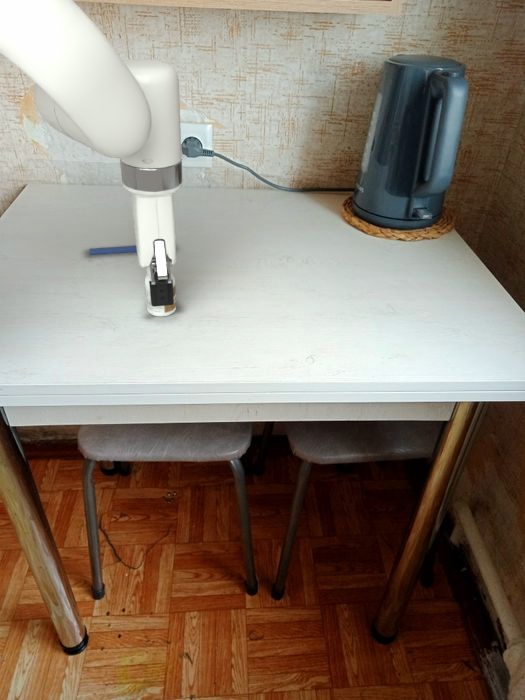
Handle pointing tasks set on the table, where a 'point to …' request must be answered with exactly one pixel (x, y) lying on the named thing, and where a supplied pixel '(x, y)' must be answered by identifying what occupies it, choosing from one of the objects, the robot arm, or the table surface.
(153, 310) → the pill bottle
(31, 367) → the table surface
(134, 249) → the spoon
